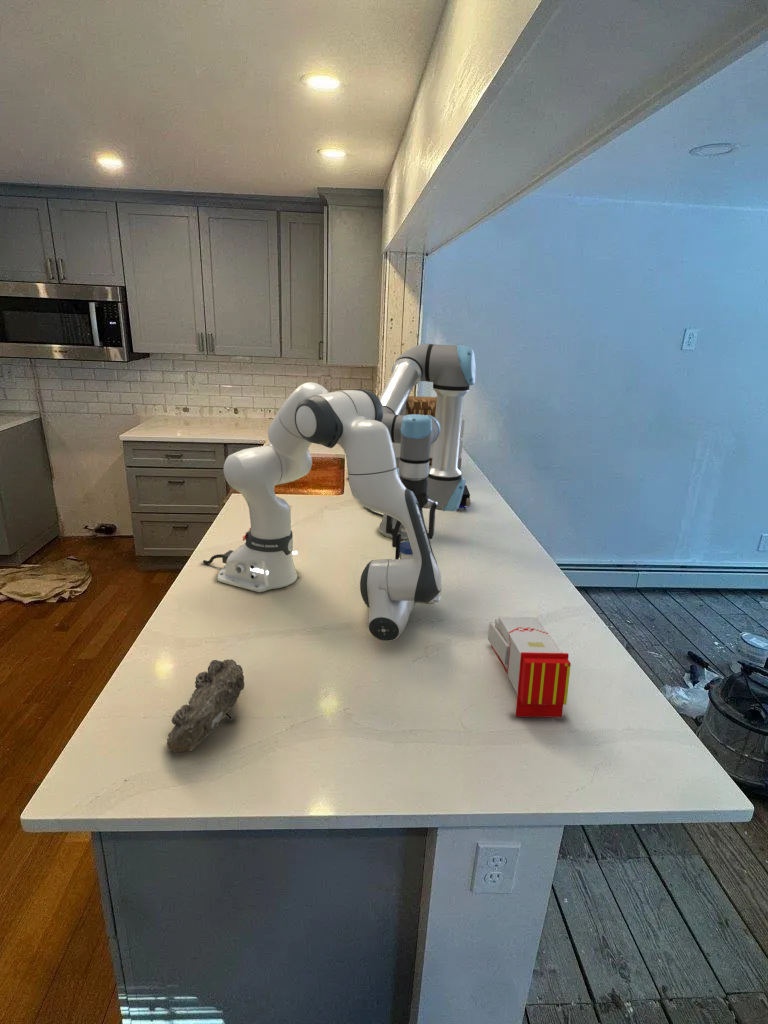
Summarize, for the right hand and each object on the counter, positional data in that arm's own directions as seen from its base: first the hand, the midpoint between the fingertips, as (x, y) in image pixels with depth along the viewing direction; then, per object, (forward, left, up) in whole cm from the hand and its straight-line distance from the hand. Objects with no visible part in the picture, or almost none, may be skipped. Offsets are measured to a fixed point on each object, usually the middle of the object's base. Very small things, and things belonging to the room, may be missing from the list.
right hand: (408, 559), depth 152 cm
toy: (+41, -4, -11) cm, 43 cm away
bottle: (0, 0, -11) cm, 11 cm away
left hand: (-1, +1, -5) cm, 5 cm away
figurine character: (-44, +70, -11) cm, 83 cm away
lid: (0, 0, +4) cm, 4 cm away
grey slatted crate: (-88, +91, -11) cm, 127 cm away
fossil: (+13, -62, -11) cm, 65 cm away
